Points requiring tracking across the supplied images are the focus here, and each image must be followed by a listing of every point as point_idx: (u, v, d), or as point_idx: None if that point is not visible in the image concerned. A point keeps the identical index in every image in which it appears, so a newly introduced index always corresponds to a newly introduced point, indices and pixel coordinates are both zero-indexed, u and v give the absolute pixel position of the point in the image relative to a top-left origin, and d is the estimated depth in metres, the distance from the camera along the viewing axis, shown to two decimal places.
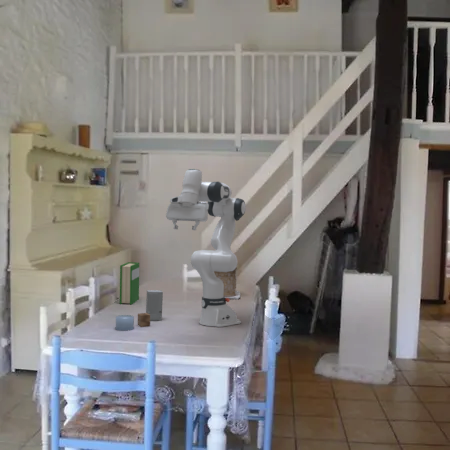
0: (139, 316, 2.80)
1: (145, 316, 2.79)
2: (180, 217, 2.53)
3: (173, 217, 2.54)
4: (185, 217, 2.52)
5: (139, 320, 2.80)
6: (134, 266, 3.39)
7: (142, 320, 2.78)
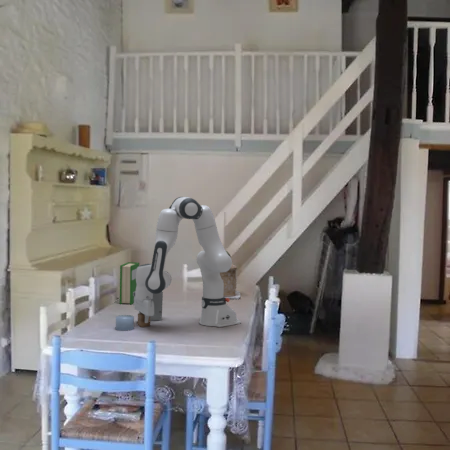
0: (139, 316, 2.80)
1: None
2: (139, 310, 2.82)
3: (137, 309, 2.85)
4: (141, 311, 2.80)
5: (139, 320, 2.80)
6: (134, 266, 3.39)
7: (142, 320, 2.78)
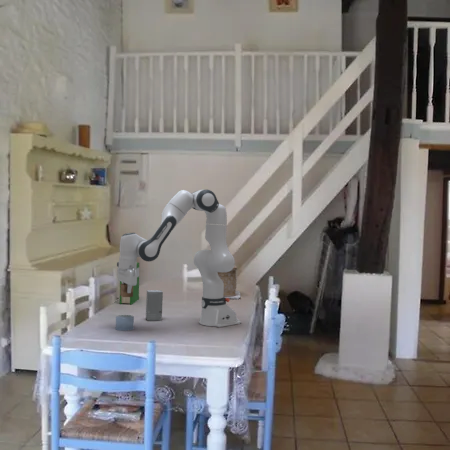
0: (122, 286, 2.73)
1: None
2: (122, 281, 2.76)
3: (120, 280, 2.79)
4: (123, 281, 2.73)
5: (122, 290, 2.73)
6: None
7: (125, 290, 2.72)
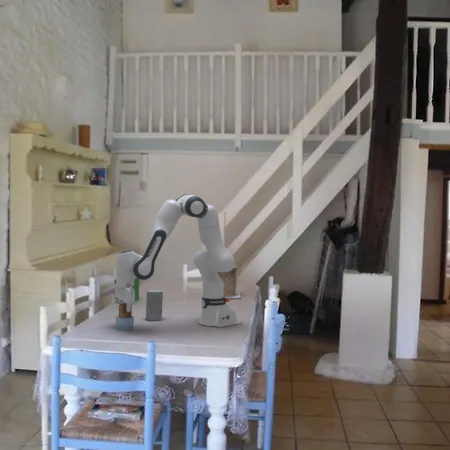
0: (120, 307, 2.73)
1: (126, 307, 2.72)
2: (120, 298, 2.75)
3: (118, 297, 2.78)
4: (121, 299, 2.73)
5: (120, 311, 2.73)
6: None
7: (123, 311, 2.71)
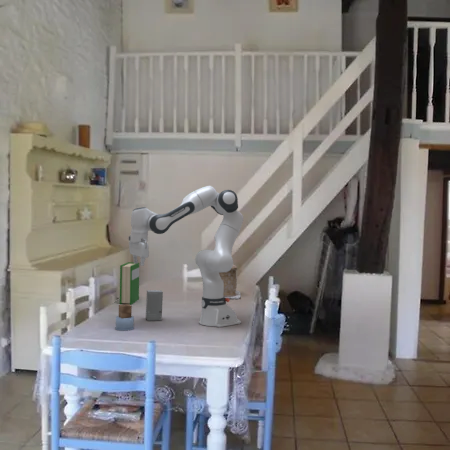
0: (120, 307, 2.73)
1: (126, 307, 2.72)
2: (134, 254, 2.86)
3: (132, 253, 2.89)
4: (135, 254, 2.83)
5: (120, 311, 2.73)
6: (134, 266, 3.39)
7: (123, 311, 2.71)
